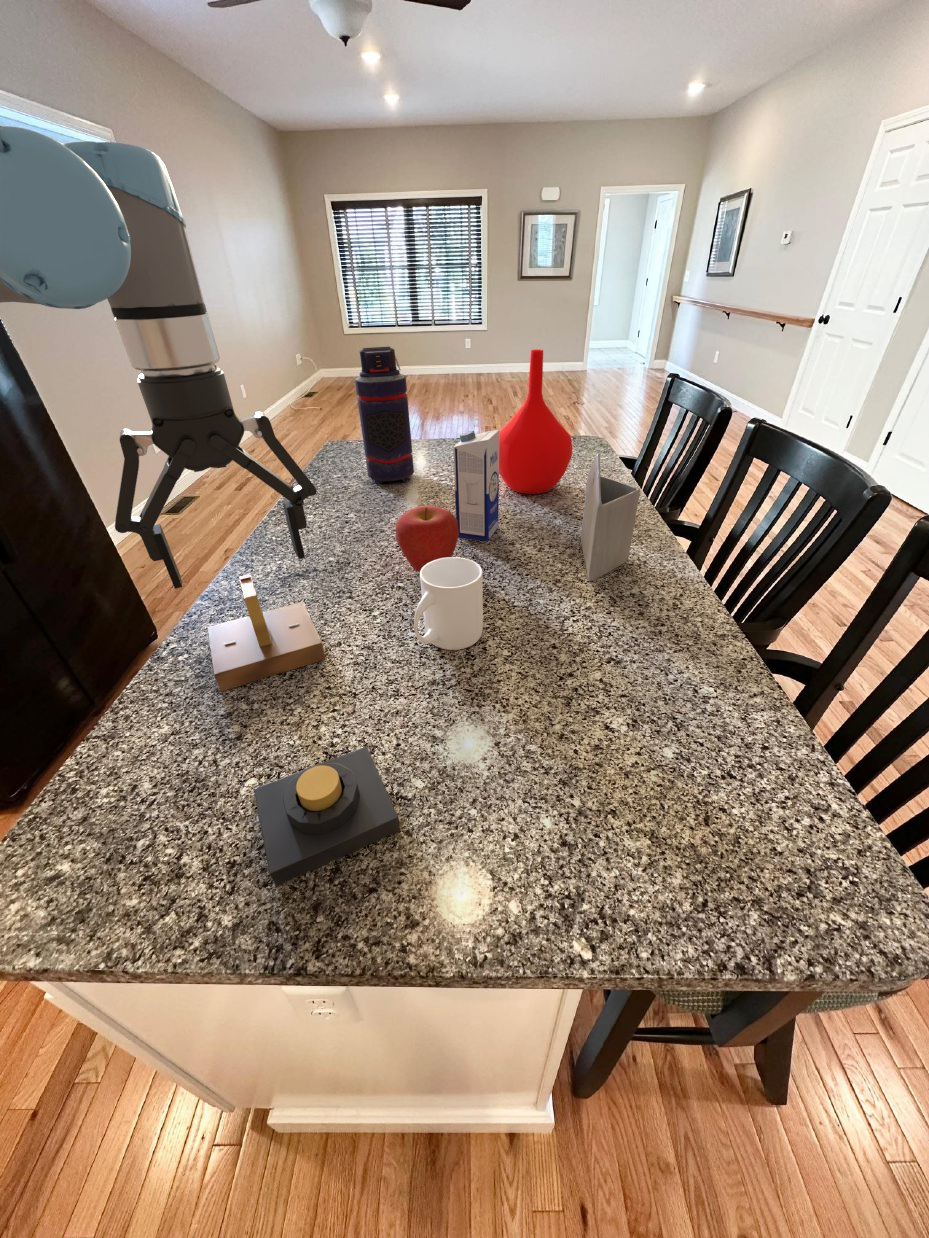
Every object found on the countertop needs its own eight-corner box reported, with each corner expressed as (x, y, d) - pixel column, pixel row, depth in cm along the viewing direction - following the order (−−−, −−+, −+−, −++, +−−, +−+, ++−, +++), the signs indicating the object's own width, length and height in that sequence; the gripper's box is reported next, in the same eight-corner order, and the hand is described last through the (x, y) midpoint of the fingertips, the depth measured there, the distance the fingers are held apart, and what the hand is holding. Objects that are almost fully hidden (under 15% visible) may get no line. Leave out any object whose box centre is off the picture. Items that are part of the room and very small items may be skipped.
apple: (400, 558, 97) (393, 497, 90) (457, 554, 97) (454, 493, 90) (400, 589, 88) (392, 524, 81) (462, 584, 88) (460, 519, 81)
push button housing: (275, 886, 46) (264, 862, 44) (259, 801, 54) (248, 777, 51) (400, 830, 50) (396, 805, 48) (369, 758, 58) (364, 734, 55)
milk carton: (488, 541, 101) (487, 438, 90) (456, 537, 103) (452, 435, 92) (498, 527, 107) (499, 428, 95) (468, 523, 109) (465, 425, 97)
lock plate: (220, 691, 68) (213, 673, 66) (213, 643, 76) (206, 625, 75) (325, 659, 73) (321, 641, 71) (307, 617, 81) (303, 600, 80)
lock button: (304, 818, 48) (300, 806, 47) (296, 786, 51) (292, 774, 50) (346, 801, 49) (343, 789, 48) (335, 770, 52) (332, 759, 51)
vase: (571, 476, 130) (583, 344, 113) (566, 503, 116) (579, 357, 99) (500, 472, 134) (501, 344, 117) (486, 498, 120) (485, 356, 103)
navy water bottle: (416, 483, 129) (405, 350, 112) (369, 488, 128) (350, 353, 111) (411, 466, 140) (400, 342, 123) (367, 470, 139) (350, 345, 122)
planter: (635, 582, 87) (657, 470, 76) (588, 581, 88) (602, 470, 77) (621, 540, 100) (637, 439, 89) (580, 539, 101) (591, 439, 90)
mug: (396, 647, 74) (388, 584, 68) (452, 611, 82) (449, 551, 75) (439, 672, 70) (434, 606, 63) (494, 631, 77) (495, 569, 71)
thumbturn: (271, 644, 71) (256, 593, 66) (259, 647, 70) (243, 596, 66) (265, 621, 75) (250, 573, 71) (254, 624, 75) (238, 575, 70)
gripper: (303, 352, 55) (336, 532, 67) (26, 377, 46) (121, 580, 58) (321, 360, 50) (353, 555, 62) (10, 391, 41) (119, 612, 53)
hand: (241, 568), depth 60 cm, fingers open, 13 cm apart
